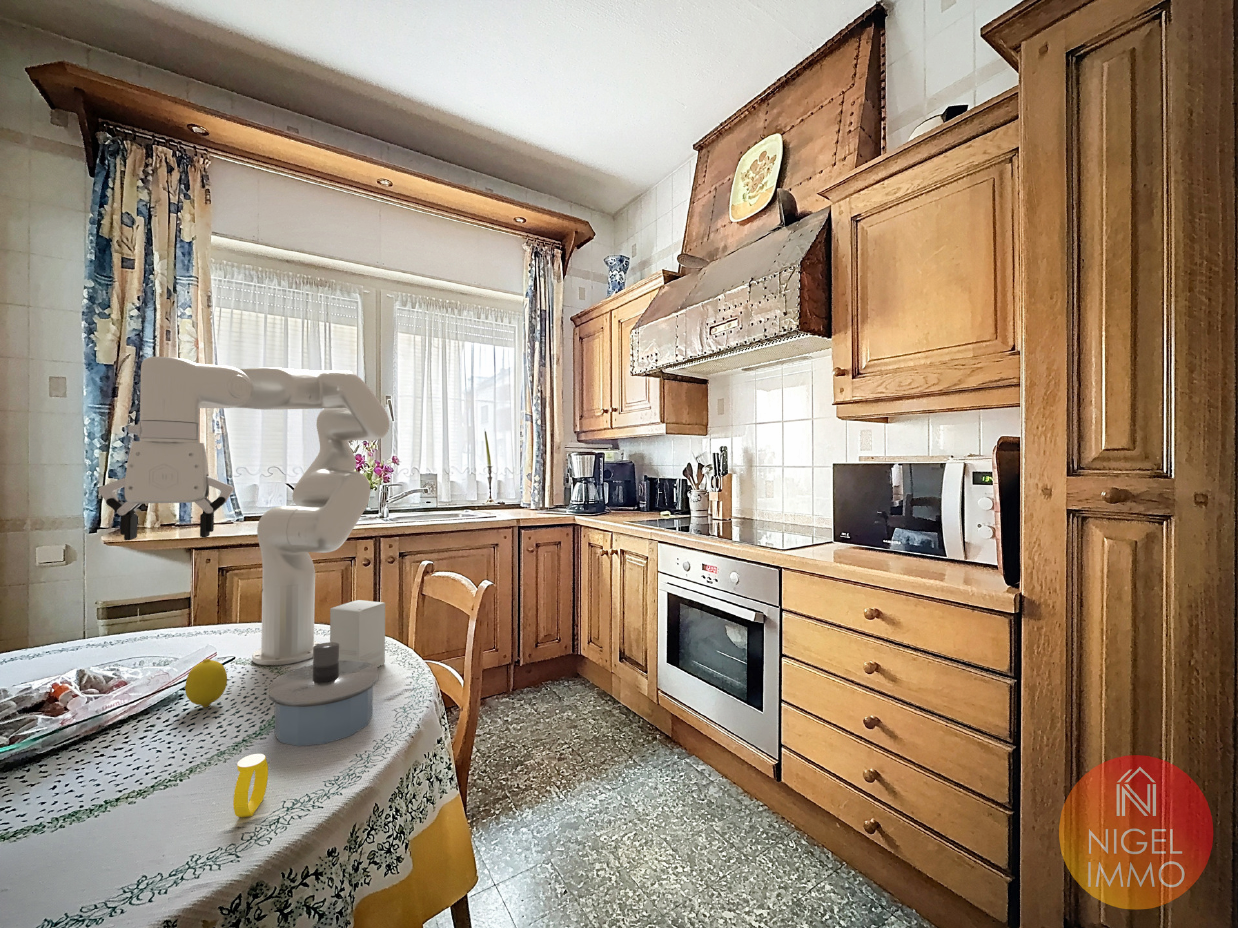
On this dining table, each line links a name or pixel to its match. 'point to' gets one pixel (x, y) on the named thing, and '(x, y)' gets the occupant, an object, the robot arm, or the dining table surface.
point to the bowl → (323, 720)
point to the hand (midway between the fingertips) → (168, 537)
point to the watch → (243, 784)
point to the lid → (323, 680)
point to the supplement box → (359, 631)
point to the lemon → (206, 682)
